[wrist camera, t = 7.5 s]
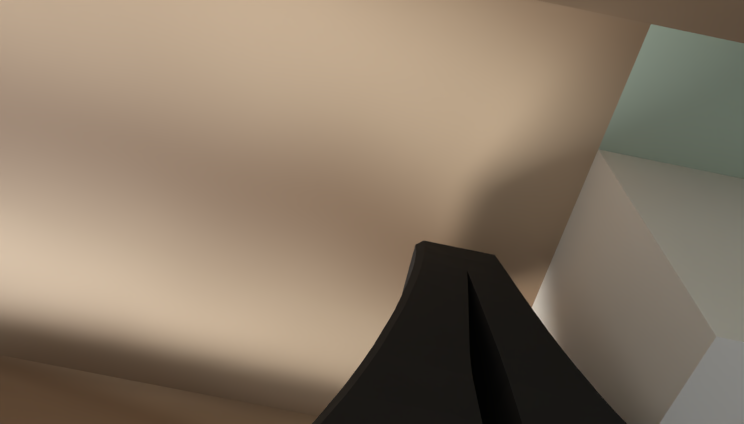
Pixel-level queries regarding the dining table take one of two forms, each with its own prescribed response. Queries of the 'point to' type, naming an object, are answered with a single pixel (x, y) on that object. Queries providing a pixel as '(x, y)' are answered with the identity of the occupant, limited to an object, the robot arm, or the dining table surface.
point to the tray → (305, 177)
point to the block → (653, 290)
